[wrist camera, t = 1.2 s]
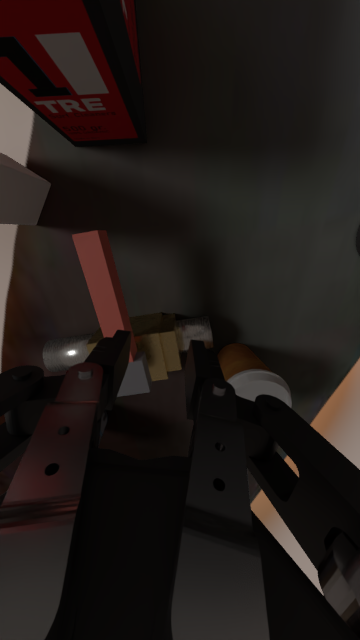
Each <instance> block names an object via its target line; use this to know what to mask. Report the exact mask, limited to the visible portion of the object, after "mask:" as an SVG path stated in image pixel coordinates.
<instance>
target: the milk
mask: <svg viewBox="0 0 360 640" xmlns="http://www.w3.org/2000/svg"><path fill="white" fill-rule="evenodd" d="M50 186H51V183H50V182H48V181H46V180H45V179H43V178H42V177H40V176H38V175H37V174H35V173H34V172H32V171H30V170H29V169H27V168H26V167H24V166H22V165H21V164H19V163H18V162H16V161H14V160H13V159H11V158H10V157H8V156H6V155H4V154H2V153H0V224H20V225H37V222H38V219H39V217H40V214H41V211H42V208H43V206H44V203H45V200H46V197H47V194H48V192H49V189H50Z"/></svg>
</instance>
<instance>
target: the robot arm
mask: <svg viewBox="0 0 360 640" xmlns="http://www.w3.org/2000/svg"><path fill="white" fill-rule="evenodd" d="M356 247H357V251H358V253H359V255H360V227H359V229H358V232H357V237H356ZM130 346H131V331H126V330H117V331H116V333H115V334H114V336H113V338H112V337H105V338H103V339H101V340H99V342H98V343H97V344H96V347H94V349H93V351H91V353H90V354H89V356H88V357H87V358H86V360H85V361H84V363H79V364H76V365H73V366H72V367H70V368H69V369H68V370H67V372H66V375H61V376H49V377H44V371H43V370H42V369H41V368H40V367H37V366H19V367H15V368H12V369H10V370H8V371H5V372H3V373H1V374H0V416H2V415H3V414H5V420H6V422H5V423H3V424H1V425H0V472H1V471H2V470H3V469H4V468H6V467H7V466H8V465H9V464H10V463H12V462H13V461H14V460H15V459H17V458H18V457H19V456H20V455H21V454H23V453H24V452H25V453H24V455H23V458H22V460H21V462H20V464H19V467H18V469H17V471H16V473H15V476H14V478H13V480H12V482H11V485H10V487H9V489H8V491H7V492H5V493H4V494H2V495H1V496H0V640H360V470H359V469H358V468H357V467H356V466H355V465H354V464H353V463H352V462H350V461H349V460H348V459H347V458H346V457H345V456H344V455H343V454H342V453H340V452H339V451H338V450H337V449H336V448H335V447H334V446H332V445H331V444H330V443H329V442H328V441H327V440H326V439H325V438H324V437H323V436H321V435H320V434H319V433H318V432H317V431H316V430H314V429H313V427H311V426H310V425H309V424H308V423H307V422H306V421H305V420H304V419H302V418H301V417H300V416H299V415H298V414H297V413H296V412H295V411H294V410H292V409H291V408H290V407H289V406H288V405H287V404H286V403H285V402H283V401H282V400H280V399H279V398H277V397H274V396H271V395H267V394H261V395H258V396H257V397H256V399H255V402H254V401H251V400H248V399H245V398H242V397H240V396H238V395H236V393H235V389H234V387H233V386H232V385H231V384H230V383H228V382H227V381H225V378H224V375H223V372H222V369H221V367H220V363H219V360H218V357H217V355H216V354H215V353H214V352H213V351H210V350H206V348H205V344H204V341H199V340H192V339H191V340H190V343H189V349H188V354H187V359H186V365H185V391H186V409H187V419H191V420H193V421H194V425H193V430H192V435H191V440H190V446H189V452H188V457H180V456H169V457H162V458H155V459H149V460H138V459H135V458H132V457H129V456H127V455H124V454H121V453H118V452H116V451H113V450H109V449H99V448H98V444H99V436H100V428H101V417H102V415H103V413H104V411H105V410H111V411H112V408H113V406H114V403H115V400H116V397H117V395H118V392H119V389H120V386H121V384H122V381H123V378H124V376H125V373H126V370H127V367H128V363H129V357H130ZM278 445H279V446H280V447H281V448H282V449H283V450H284V452H285V453H286V454H287V455H288V456H289V457H290V458H291V459H292V461H293V462H294V463H295V464H296V466H297V468H298V471H299V477H298V476H297V475H296V474H295V473H294V472H293V470H292V469H291V468H290V467H289V466H288V464H287V463H286V462H285V461H284V460H283V459H282V457H281V456H280V455H279V454H278V453H277V452H276V450H277V448H278ZM247 468H248V469H249V471H250V472H251V474H252V475H253V477H254V478H255V480H256V481H257V483H258V484H259V486H260V487H261V489H262V490H263V491H264V493H265V494H266V496H267V497H268V499H269V500H270V501H271V503H272V505H273V506H274V507H275V509H276V511H277V512H278V513H279V515H280V516H281V518H282V519H283V521H284V522H285V524H286V525H287V527H288V528H289V530H290V531H291V533H292V534H293V535H294V537H295V538H296V540H297V541H298V543H299V544H300V546H301V547H302V549H303V550H304V551H305V553H306V554H307V556H308V558H309V559H310V561H311V562H312V563H313V565H314V566H315V568H316V569H317V571H318V578H319V583H320V586H321V589H322V591H323V593H324V596H323V595H322V594H321V593H320V591H319V590H318V589H317V588H316V587H315V585H314V584H313V583H312V582H311V581H310V579H309V578H308V577H307V576H306V575H305V573H303V571H302V570H301V569H300V568H299V566H298V565H297V564H296V563H295V562H294V560H293V559H292V558H291V557H290V556H289V554H288V553H287V552H286V551H285V550H284V548H283V547H282V546H281V545H280V544H279V542H278V541H277V540H276V539H275V538H274V536H273V535H272V534H271V533H270V532H269V531H268V529H267V528H266V527H265V526H264V525H263V523H262V522H261V521H260V520H259V519H258V517H257V516H256V515H255V514H254V513H253V511H252V510H251V507H250V495H249V485H248V474H247Z"/></svg>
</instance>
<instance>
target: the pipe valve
mask: <svg viewBox="0 0 360 640" xmlns="http://www.w3.org/2000/svg"><path fill="white" fill-rule="evenodd" d="M129 320H130V324H131V328H132V332H133V335H134V339H135V343H136V347H137V352H142V351H145V355H146V359H147V363H148V367H149V371H150V375H151V379H152V381H156V380H163V379H168V371H175V370H182V366H181V353H183V352H188V349H189V343H190V340H191V339H192V340H199V341H204V344H205V348H206V349H210V348H213V339H212V332H211V326H210V321H209V317H208V316H203V317H196V318H190V319H184V320H177V321H176V317H175V313H173V314H167V315H162V312H161V313H154V314H148V315H142V316H135V317H129ZM103 338H104V336H103V333H102V330H101V327H100V328H99V329H98V330H97V331H96V333H94V334H87V335H81V336H75V337H68V338H62V339H55V340H50V341H48V342H47V343H46V344H45V346H44V349H43V360H44V364H45V366H46V367H47V369H48V370H50V371H52V372H56V371H63V370H68V369H69V368H70V367H72V366H73V365H76V364H79V363H84V361H85V360H86V358H87V357H88V356H89V354H90V353H91V351H93V349H94V347H96V344H97V343H98V342H99V340H101V339H103Z"/></svg>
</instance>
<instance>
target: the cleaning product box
mask: <svg viewBox="0 0 360 640" xmlns="http://www.w3.org/2000/svg"><path fill="white" fill-rule="evenodd" d="M0 83H1V84H2V85H3V86H4V87H6V88H7V89H8V90H9V91H10V92H12V93H13V94H14V95H15V96H16V97H18V98H19V99H20V100H21V101H22V102H23V103H25V104H26V105H27V106H28V107H29V108H30V109H32V110H33V111H34V112H35V113H36V114H38V115H39V116H40V117H41V118H42V119H43V120H45V121H46V122H47V123H48V124H49V125H51V126H52V127H53V128H54V129H55V130H57V131H58V132H59V133H60V134H61V135H62V136H64V137H65V138H66V139H67V140H68V141H70V142H71V143H72V144H73V145H74V146H75V147H78V146H96V145H115V144H133V143H147V137H146V126H145V114H144V102H143V90H142V78H141V66H140V54H139V42H138V30H137V18H136V6H135V0H0Z"/></svg>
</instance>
